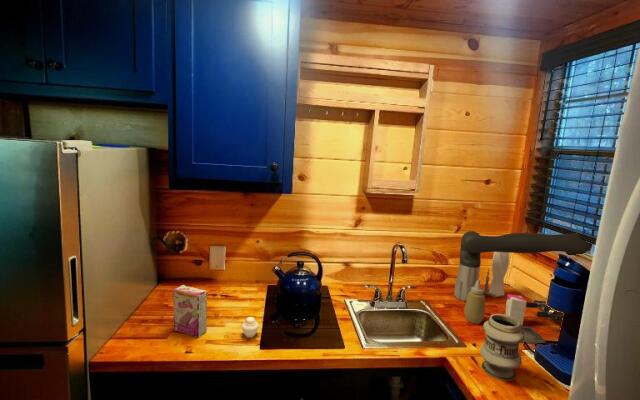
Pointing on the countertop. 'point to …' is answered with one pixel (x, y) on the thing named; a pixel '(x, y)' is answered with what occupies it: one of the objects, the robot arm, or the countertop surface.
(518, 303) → the supplement box
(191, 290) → the candy bar box
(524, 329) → the socket collar
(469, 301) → the squeeze bottle
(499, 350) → the apothecary jar
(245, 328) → the white lidded pot
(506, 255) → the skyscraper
